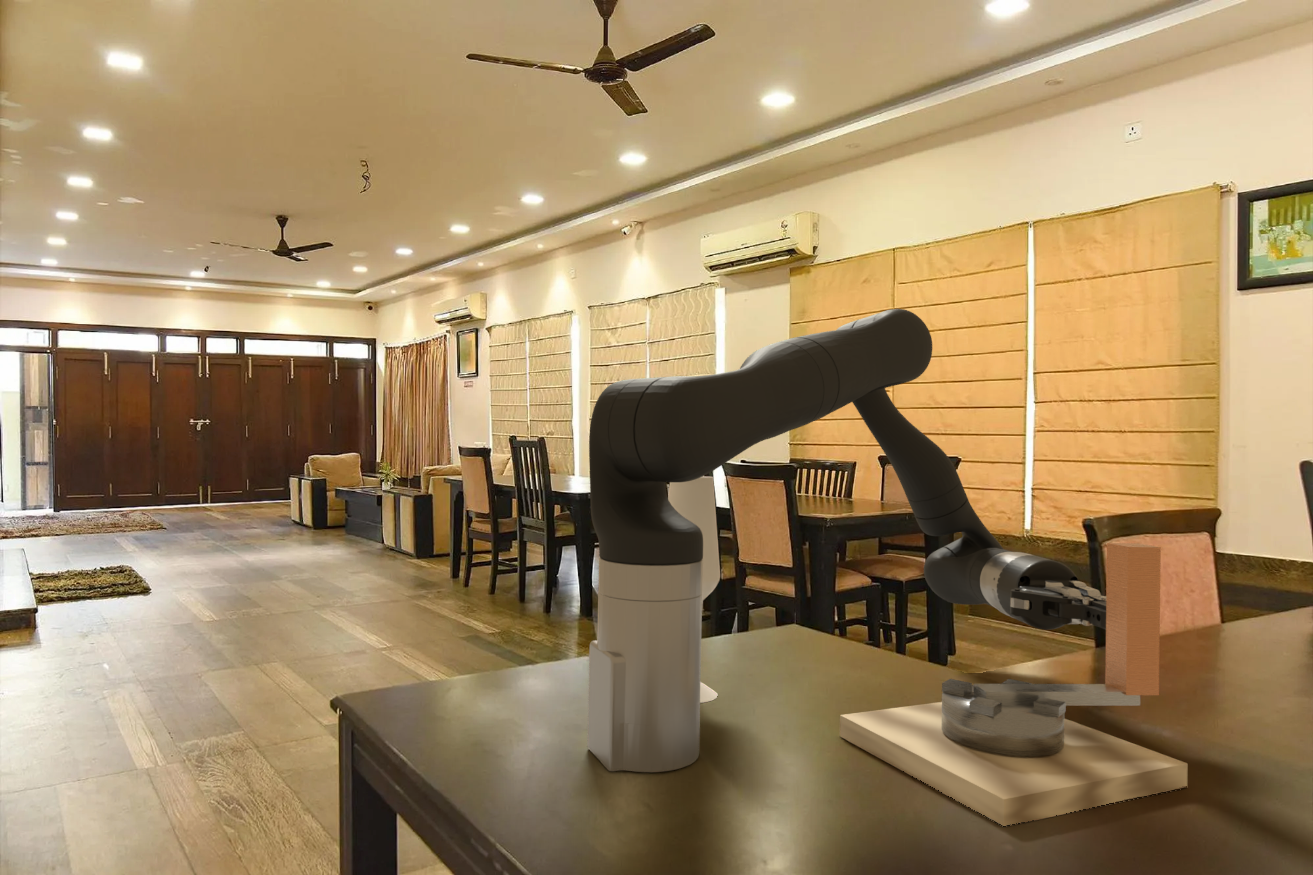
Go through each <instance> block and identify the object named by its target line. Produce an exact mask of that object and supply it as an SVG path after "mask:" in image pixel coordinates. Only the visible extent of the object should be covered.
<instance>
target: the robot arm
mask: <svg viewBox="0 0 1313 875" xmlns="http://www.w3.org/2000/svg"><path fill="white" fill-rule="evenodd" d="M932 355H933V340H932V335H931V333H930V330H929V328H928V325H927V324H926V323H925V322H924V320H922V318H921V317H919V316H918V315H917V314H916V313H914V312H912V311H910V310H907V309H905V308H894V309H887V310H884V311H881V312H878V313H875V314H871V315H869V316H866V317H863V318H860V319H857V320H853V321H851V322H848V323H845V324H843V325H841V326H838V328H836V330H827V331H821V332H817V333H810V334H806V335H801V336H795V337H792V338H788V339H784V340H781V341H776V342H774V343H771V344H767V345H765V346H762V347H761V348H759V349H756V350H755V351H753V352H752V353H751V354H750V355H748V356H747V358H746V359H745V360H744V361H743V363H742V364H741V366H740V367H739V368H738V369H735V370H732V371H731V370H730V371H726V372H721V373H716V374H708V375H706V374H705V375H693V376H688V375H687V376H685V375H684V376H683V375H681V376H680V375H678V376H676V375H673V376H659V377H647V378H646V377H645V378H644V377H642V378H630V379H624V380H618V381H616V382H614V383H611V384H609V385H608V386H607V387H606V388H604V389H603V391H602V392H601V393H600V395H599V396H598V398H597V400H596V402H595V404H594V407H593V410H592V415H591V418H590V426H589V437H588V438H589V439H588V442H589V443H588V450H589V451H588V457H589V458H588V463H589V488H590V489H589V491H590V492H589V493H590V494H589V495H590V515H591V521H592V525H593V528H594V532H595V534H596V537H597V539H598V548H599V550H598V556H599V558H598V590H597V591H598V592H597V593H598V594H597V633H596V634H597V635H596V636H597V637H596V638H597V640H596V639H595V640H591V642H590V643H589V652H588V653H589V656H588V658H589V659H588V661H589V662H588V698H587V699H588V701H587V703H588V704H587V708H588V709H587V743H586V744H587V746H586V747H587V749H588V750H590V752H591V753H592V754H593V756H595V757H596V758H597V759H598V761H599V762H600V763H601V764H602V765H603V766H604V767H605V768H606V769H607V770H608V771H609V772H616V771H629V772H631V771H632V772H637V773H660V772H661V773H662V772H669V771H674V770H675V771H676V770H678V769H681V768H685V767H688V766H690V765H691V764H693V763H694V762H696V761H697V760H698V758H699V754H700V736H701V727H700V726H701V724H700V723H701V703H700V682H701V669H702V668H701V667H702V664H701V663H702V622H703V621H702V620H703V618H702V616H703V614H702V613H703V601H702V579H703V535H702V532H701V530H700V528H699V527H698V526H697V525H695V524H694V523H692V522H691V521H689V520H688V519H686V518H684V517H683V516H682V515H680V514H679V513H678V512H677V511H676V510H675V509H674V507H673V506H672V505H671V503H670V502H669V500H668V493H667V486H666V483H670V482H687V481H692V480H695V479H698V478H700V477H702V476H706V475H708V474H710V473H711V472H714V471H715V470H717V469H718V468H720V467H722V466H723V465H724V464H726V463H727V462H729V461H730V460H732V459H734V458H735V457H737V456H738V455H740V454H742V453H743V452H745V451H746V450H748V449H749V448H751V447H753V446H754V445H757V444H758V443H760V442H763V441H766V440H769V439H773V438H776V437H777V436H780V435H783V434H785V433H787V432H790V431H793V430H796V429H798V428H801V427H804V426H806V425H809V424H811V423H813V422H816V421H818V420H820V419H823V418H824V417H826V416H828V415H830V414H831V413H833V412H836V411H837V410H839V409H841V408H844V407H845V406H847V405H849V404H851V403H852V404H853V405H854V407H855V409H856V411H857V412H858V413H859V415H860V417H861V418H862V420H863V421H864V423H865V425H866V427H867V428H868V430H869V431H870V433H871V434H872V436H873V437H874V438H875V439H874V440H876V442H877V443H878V445H879V446H880V448H881V449H882V451H883V453H884V455H885V456H886V458H887V459H888V461H889V463H890V465H891V466H892V469H893V470H894V472H895V474H896V476H897V478H898V480H899V483H900V484H901V487H902V489H903V492H904V494H905V497H906V499H907V501H908V504H909V507H910V508H911V511H912V513H913V516H914V518H915V520H916V522H917V525H918V527H919V528H920V529H921V531H922V532H923V533H925V535H928V536H930V537H931V536H932V537H942V536H947V535H952V534H956V533H961V535H962V537H960V538H958V539H956V540H954V541H952V542H950V543H948V544H946V545H944V546H943V547H939V548H938V549H937V550H934V551H932V552H931V553H930V554H929V555H928V557H926V559H925V562H924V565H923V575H924V578H925V581H926V583H927V586H928V587H929V588H930V589H931V591H932V592H934V594H935V595H937V597H939V598H941V599H942V600H944V601H946V602H948V603H950V604H956V605H988V606H991V607H993V608H995V609H996V610H998V611H999V612H1000V613H1002V614H1003V615H1005V616H1008V617H1010V618H1012V619H1015V620H1017V621H1019V622H1021V623H1024V624H1026V625H1028V626H1031V627H1033V628H1035V629H1038V630H1039V629H1040V630H1047V631H1048V630H1056V629H1059V628H1062V627H1064V626H1066V625H1079V624H1080V625H1083V626H1085V627H1090V626H1095V627H1098V628H1100V629H1103V630H1105V631H1106V595H1105V596H1104V595H1102V593H1101V592H1100V590H1099V589H1096V588H1093V587H1090V586H1087V584H1086V583H1085V582H1084V581H1083V582H1082V581H1080V580H1079V579H1078V578H1079V577H1077V575H1076V574H1075V573H1074V571H1073V570H1072V569H1071V568H1070V567H1069V566H1067V565H1066V564H1064V563H1063V562H1059V561H1056V560H1053V559H1050V558H1045V557H1042V556H1038V555H1035V554H1031V553H1026V552H1021V551H1012V550H1011V551H1010V550H1008V549H1004V547H1003V546H1002V545H1001V544H1000V542H999V540H997V538H995V536H994V535H993V534H992V533H991V532H990V531H989V529H988V528H987V527H986V526H985V524H984V523H983V521H982V520H981V519H980V517H979V516H978V514H977V512H976V511H975V510H974V508H973V506H972V505H971V503H970V500H969V497H968V496H967V494H966V491H965V488H964V486H963V484H962V481H961V479H960V476H959V473H958V471H957V469H956V467H955V465H954V464H953V462H952V461H951V459H950V457H949V456H948V455H947V454H946V452H944V450H943V449H942V448H941V447H940V446H939V445H937V443H935V442H934V441H932V439H931V438H929V437H928V436H927V435H925V434H924V433H923V432H922V431H921V430H920V429H918V428H917V427H916V426H914V425H913V424H912V422H910V421H909V420H908V419H907V418H906V417H905V415H903V414H902V413H901V412H900V411H899V409H898V408H897V407H896V405H895V404H894V402H893V401H892V399H891V397H890V396H889V394H888V393H887V390H886V388H891V387H894V386H898V385H902V384H905V383H909V382H912V381H914V380H916V379H918V378H919V377H921V376H922V374H923V375H924V373H925V371H926V370H927V368H928V367H929V365H930V363H931V359H932Z"/></svg>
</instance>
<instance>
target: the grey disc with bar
mask: <svg viewBox="0 0 1313 875" xmlns="http://www.w3.org/2000/svg"><path fill="white" fill-rule="evenodd" d="M1161 550H1162V549H1161V546H1155V545H1149V544H1144V543H1139V542H1137V543H1135V542H1134V543H1132V542H1131V543H1130V542H1106V591H1105V592H1106V595H1105V596H1106V630H1105V671H1104V672H1105V675H1104V676H1105V677H1104V679H1105V681H1104V682H1105V683H1031V682H1027V681H1022V680H1016V679H1011V678H1008V679H1006V680H1005V681H1003V682H1001V683H972V682H969V681H964V680H963V681H962V680H959V679H954V678H949V679H947V680H945V681H943V682H941V692H942V693H941V702H942V725H941V728H942V731H943V733H944V734H945V735H946V736H948V737H949V738H951V739H953V740H954V741H956V742H959V743H961V744H963V745H966V746H969V747H972V748H975V749H979V750H983V751H987V752H992V753H998V754H1004V755H1013V756H1045V755H1050V754H1054V753H1057V752H1059V751H1061V750H1062V749H1063V748H1064V718H1065V713H1066V711H1067V710H1066V709H1067V708H1066V707H1067V706H1068V707H1069V706H1072V707H1073V706H1078V707H1079V706H1091V707H1092V706H1094V707H1095V706H1097V707H1100V706H1110V707H1111V706H1121V707H1122V706H1125V707H1126V706H1128V707H1129V706H1130V707H1131V706H1137V707H1139V706H1141V696H1160V641H1161V640H1160V634H1161V632H1160V631H1161V627H1160V625H1161V623H1160V622H1161V553H1162V552H1161Z"/></svg>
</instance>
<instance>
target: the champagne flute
mask: <svg viewBox="0 0 1313 875" xmlns="http://www.w3.org/2000/svg"><path fill="white" fill-rule="evenodd" d="M714 484H715V483H714V477H713V476H706V475H704V476H702V477H700V478H698V479H695V480H692V481H687V482H669V488H668V494H667V498H668V500H669V502H670V503H671V505H672V506H673V507H674V509H675V510H676V511H677V512H678V513H679V514H680V515H682V516H683V517H684V518H686V519H688V520H689V521H691V522H692V523H694V524H695V525H697V526H698V527H699V528H700V530H701V532H702V535H703V579H702V602H703V601H704V600H706V598H707V597H708V596H709V595H711V594H712V593H713V592H714V590H715V589H716V587H717V586H718V584H719V582H720V579H721V567H720V553H719V540H718V539H719V538H718V525H717V514H716V513H717V512H716V498H715V486H714ZM718 694H719V693H717V691H715V690H713V689H712V688H711V687H709V686H708V685H706V684H705V683H703V682H702V681H700V704H701V703H707V702H711V701H713V700H716V699H717V698H718V697H717V696H719V695H718Z"/></svg>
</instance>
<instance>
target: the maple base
mask: <svg viewBox="0 0 1313 875" xmlns="http://www.w3.org/2000/svg"><path fill="white" fill-rule="evenodd" d="M941 725H942V701H939V702H931V703H923V704H922V703H921V704H915V705H914V704H913V705H909V706H899V707H891V708H884V709H877V710H869V711H861V712H854V713H846V714H840V715H839V737H840V738H842V739H844V740H845V741H848V742H849V743H851V744H853V745H855V746H856V747H858V748H861V749H862V750H864V751H866V752H868V753H869V754H871V755H873V756H875V757H876V758H878V759H880V760H882V761H884V762H886V763H887V764H889V765H891V766H893V767H895V768H896V769H898V770H900V771H902V772H903V771H904V772H903V773H906V775H909V776H911V777H912V776H913V778H915V779H916V778H917V779H916V780H918V781H920V780H921V781H922V783H923V782H924V784H925V783H926V784H925V785H927V784H929V785H928V787H930V786H931V788H932V787H933V788H932V789H934V788H935V790H936V791H938V790H939V791H938V792H939V793H941V792H942V793H941V794H943V795H945V796H947V797H948V796H949V798H950V797H952V798H953V799H952V798H951V799H952V800H954V799H955V800H954V801H955V802H958V801H959V802H960V803H959V802H958V803H959V804H961V803H962V804H961V805H963V804H964V805H963V806H965V805H966V806H965V807H967V808H968V807H970V808H971V809H970V808H969V809H970V810H972V809H973V810H972V811H974V810H975V811H974V812H976V811H978V812H979V813H981V814H982V815H981V814H980V815H981V816H983V815H985V816H987V817H990V818H991V819H993V820H995V821H996V822H998V823H1000V824H1001V825H1003V826H1006V825H1009V824H1011V825H1010V826H1013V825H1012V824H1015V825H1018V823H1019V822H1020V824H1022V823H1021V822H1025V823H1028V821H1029V822H1033V821H1032V820H1034V821H1038V820H1043V819H1048V818H1052V817H1057V816H1061V815H1067V814H1071V813H1070V812H1072V813H1075V812H1074V811H1076V812H1080V811H1079V810H1081V811H1084V810H1083V809H1086V810H1090V809H1093V808H1092V807H1095V808H1098V807H1097V806H1100V807H1102V806H1101V805H1105V806H1107V805H1106V804H1109V803H1113V802H1114V804H1116V803H1115V802H1116V801H1122V800H1124V799H1129V798H1133V797H1137V796H1145V795H1147V794H1148V795H1149V794H1153V793H1156V792H1163V791H1166V790H1172V789H1175V788H1179V787H1182V786H1187V787H1188V767H1189V766H1188V764H1189V763H1187V762H1184V761H1182V760H1179V759H1176V758H1173V757H1171V756H1169V755H1166V754H1164V753H1163V754H1162V753H1160V752H1158V751H1155V750H1153V749H1149V748H1146V747H1144V746H1141V745H1139V744H1135V743H1132V742H1130V741H1127V740H1124V739H1122V738H1119V737H1116V736H1113V735H1111V734H1109V733H1105V732H1103V731H1100V730H1098V729H1095V728H1093V727H1089V726H1086V725H1084V724H1082V723H1081V724H1080V723H1078V722H1076V721H1073V720H1069V719H1067V718H1065V717H1064V748H1063V749H1062V750H1061V751H1059V752H1057V753H1054V754H1050V755H1045V756H1013V755H1004V754H998V753H992V752H987V751H983V750H979V749H975V748H972V747H969V746H966V745H963V744H961V743H959V742H956V741H954V740H953V739H951V738H949V737H948V736H946V735H945V734H944V733H943V731H942V728H941ZM921 781H920V782H921ZM1109 805H1110V804H1109ZM1089 808H1090V809H1089ZM979 813H978V814H979ZM1066 813H1067V814H1066ZM1056 815H1057V816H1056ZM985 816H984V817H985ZM1016 823H1017V824H1016ZM1001 825H1000V826H1001ZM1003 826H1002V827H1003ZM1006 827H1007V826H1006Z"/></svg>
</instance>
